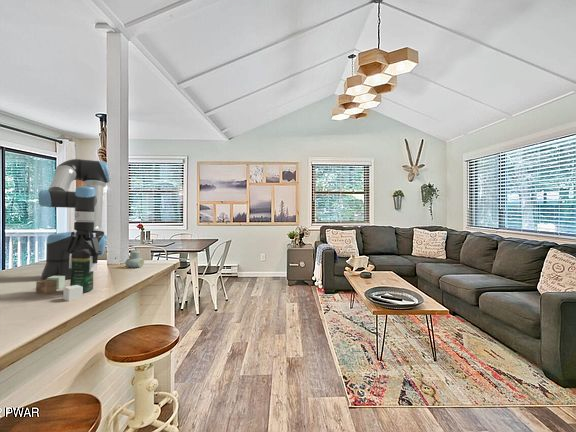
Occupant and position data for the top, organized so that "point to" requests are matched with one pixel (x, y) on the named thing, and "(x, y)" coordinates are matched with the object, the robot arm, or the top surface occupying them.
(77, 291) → the off-white block
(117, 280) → the top surface
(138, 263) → the air freshener
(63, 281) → the sage block
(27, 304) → the top surface
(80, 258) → the coffee jar
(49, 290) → the walnut block
